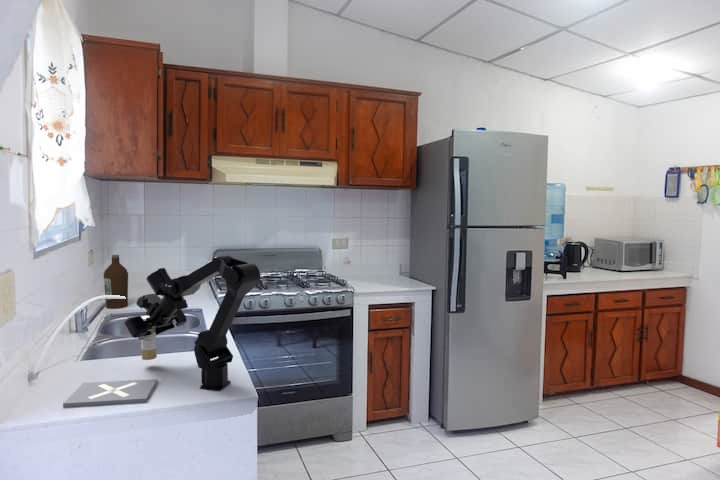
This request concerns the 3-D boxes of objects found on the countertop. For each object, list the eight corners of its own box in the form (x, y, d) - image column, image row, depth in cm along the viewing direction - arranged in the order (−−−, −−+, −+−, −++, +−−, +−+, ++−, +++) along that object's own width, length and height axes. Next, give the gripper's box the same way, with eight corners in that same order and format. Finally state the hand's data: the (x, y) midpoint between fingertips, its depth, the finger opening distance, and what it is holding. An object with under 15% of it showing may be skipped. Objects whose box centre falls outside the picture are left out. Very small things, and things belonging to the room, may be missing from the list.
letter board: (157, 382, 143) (157, 378, 143) (146, 402, 129) (145, 398, 129) (83, 386, 139) (83, 382, 139) (63, 407, 126) (62, 403, 126)
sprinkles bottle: (144, 356, 158) (142, 315, 156) (159, 355, 158) (157, 314, 157) (139, 360, 153) (137, 318, 152) (154, 360, 153) (152, 318, 152)
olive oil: (123, 303, 245) (122, 253, 242) (132, 306, 237) (131, 255, 235) (101, 306, 237) (99, 255, 235) (109, 310, 230) (107, 257, 227)
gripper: (179, 282, 159) (158, 311, 166) (127, 291, 143) (106, 323, 150) (197, 308, 156) (174, 337, 163) (145, 321, 140) (123, 352, 147)
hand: (145, 337), depth 156 cm, fingers closed on sprinkles bottle, 4 cm apart
